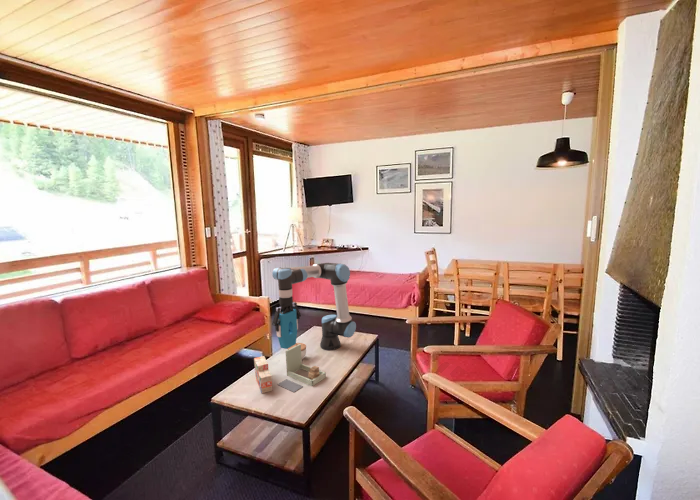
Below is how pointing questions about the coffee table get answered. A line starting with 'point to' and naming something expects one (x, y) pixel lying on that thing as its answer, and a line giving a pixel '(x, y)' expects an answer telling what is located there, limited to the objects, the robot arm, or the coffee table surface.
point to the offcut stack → (313, 372)
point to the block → (288, 329)
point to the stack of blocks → (263, 374)
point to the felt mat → (290, 385)
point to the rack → (299, 366)
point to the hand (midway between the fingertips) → (287, 333)
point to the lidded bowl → (303, 349)
